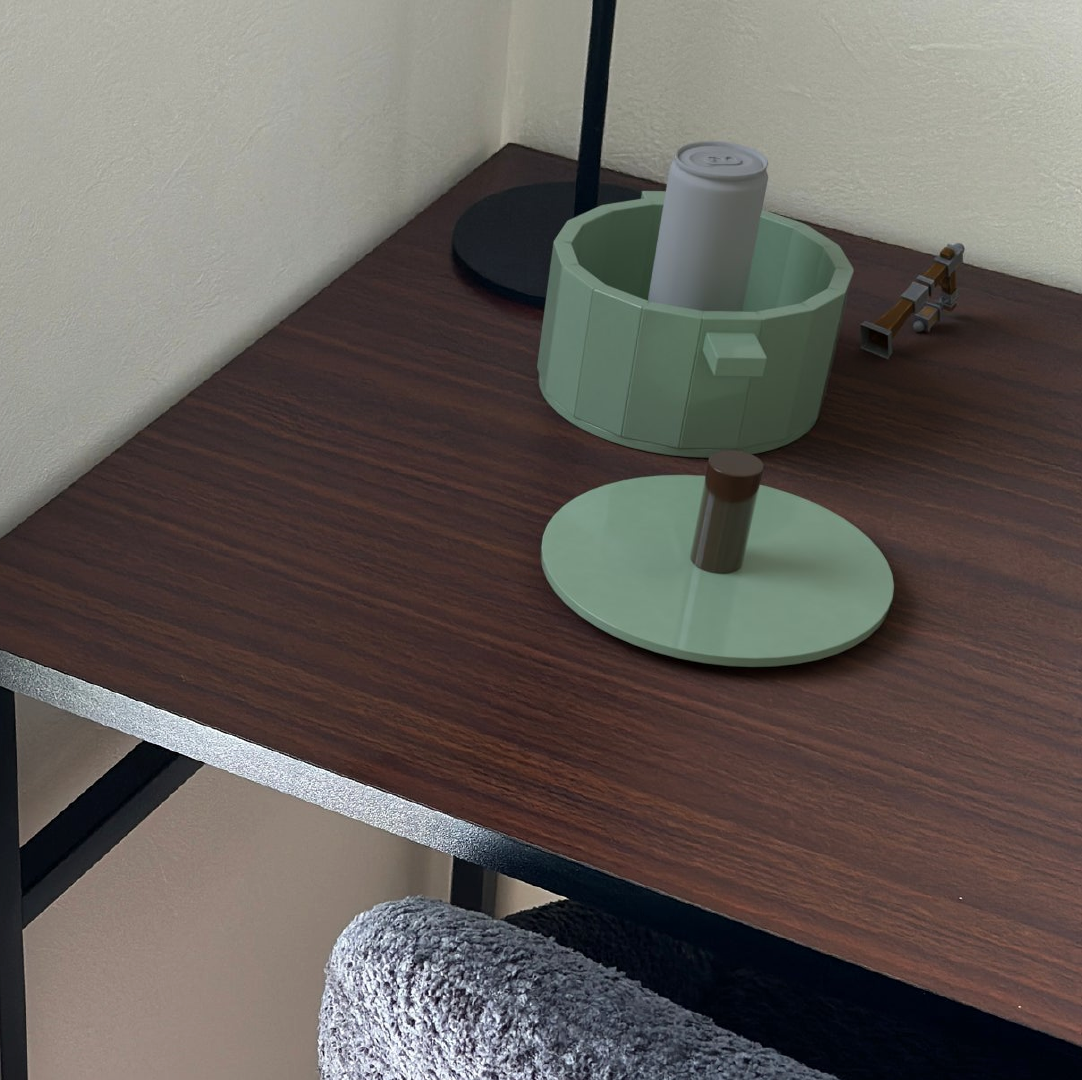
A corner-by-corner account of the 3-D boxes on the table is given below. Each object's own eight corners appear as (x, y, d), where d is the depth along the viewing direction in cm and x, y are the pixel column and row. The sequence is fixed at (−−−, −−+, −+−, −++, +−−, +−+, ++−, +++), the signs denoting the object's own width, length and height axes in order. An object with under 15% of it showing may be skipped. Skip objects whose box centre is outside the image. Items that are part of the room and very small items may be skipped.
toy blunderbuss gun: (975, 300, 119) (976, 238, 115) (889, 392, 117) (888, 332, 114) (947, 290, 120) (947, 228, 116) (862, 381, 118) (859, 321, 115)
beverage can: (626, 361, 113) (662, 139, 105) (714, 360, 113) (756, 139, 106) (646, 403, 109) (685, 177, 102) (737, 402, 110) (782, 176, 102)
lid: (839, 496, 103) (867, 382, 100) (931, 680, 91) (967, 558, 87) (517, 492, 103) (532, 377, 99) (566, 677, 91) (585, 554, 87)
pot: (773, 309, 120) (800, 180, 115) (865, 486, 104) (900, 346, 99) (514, 305, 119) (530, 176, 115) (568, 483, 104) (589, 341, 99)
